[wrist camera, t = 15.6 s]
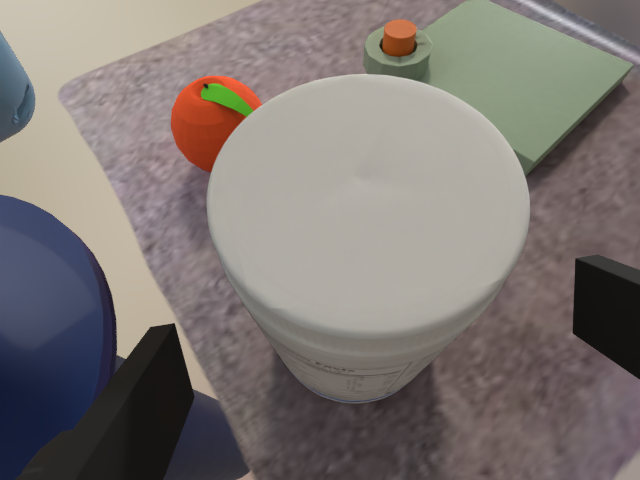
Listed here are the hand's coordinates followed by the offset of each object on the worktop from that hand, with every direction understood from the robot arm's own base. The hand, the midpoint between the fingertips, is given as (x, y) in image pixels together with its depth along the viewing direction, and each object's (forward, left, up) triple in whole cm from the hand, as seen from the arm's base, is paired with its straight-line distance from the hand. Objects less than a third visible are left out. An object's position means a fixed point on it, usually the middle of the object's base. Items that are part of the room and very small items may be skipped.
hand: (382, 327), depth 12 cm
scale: (-10, +27, -11) cm, 31 cm away
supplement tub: (-3, +2, -11) cm, 12 cm away
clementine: (-19, +5, -11) cm, 23 cm away
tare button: (-16, +21, -8) cm, 28 cm away
